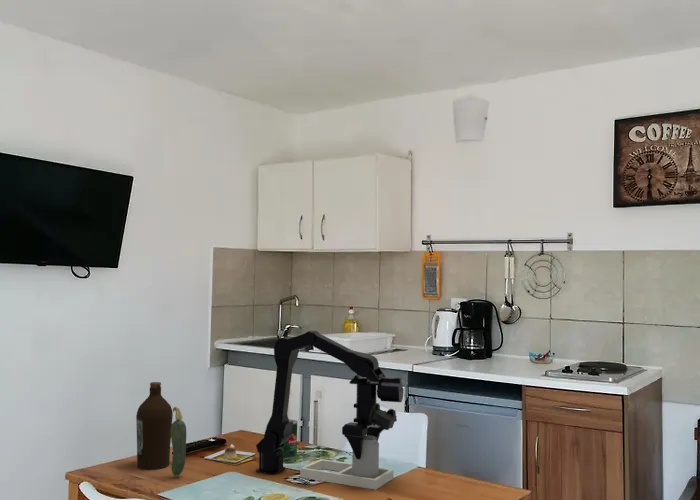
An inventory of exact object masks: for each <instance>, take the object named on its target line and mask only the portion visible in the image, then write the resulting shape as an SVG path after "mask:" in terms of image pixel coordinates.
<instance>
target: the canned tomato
mask: <svg viewBox="0 0 700 500" xmlns="http://www.w3.org/2000/svg"><path fill="white" fill-rule="evenodd" d="M288 419H289V418H288ZM289 421H293V426H292V433H293V434H292V435H290V438H289V440H288V441H286V442H285V444H284V447H283V448H280V449H281V450H282V455H283V456H284V458H283V460H290V459H295V458H297V457H298V420H296V419H289Z"/></svg>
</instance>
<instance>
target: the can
mask: <svg viewBox="0 0 700 500" xmlns="http://www.w3.org/2000/svg"><path fill="white" fill-rule="evenodd" d="M366 435H367V434H366ZM376 439H377V438H376V437H375V436H369V435H367V437H366V438H365V439H364V440H363V445H362V453H361V459H356V457H355V454H354V452H353V451H352V454H351V455H352V459H351V461H352V463H351V464H352V476H359V477H365V478H371V479H375V478H376V477H378V476H379V468H380V466H379V465H380V463H379V461H380V460H379V459H380V456H379V455H380V443H379V440H378V441H377V440H376Z"/></svg>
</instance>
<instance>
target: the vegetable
mask: <svg viewBox="0 0 700 500" xmlns="http://www.w3.org/2000/svg"><path fill="white" fill-rule="evenodd" d="M172 412H173V413H174V412H175V416H174V417H175V421H172V425H171V446H172V460H171V461H172V462H171V474H172V475H173V477H174V478H178V477H179V476H180V475H181V474H182V472H184V469H185V464H186V453H187V426H186V423H185V422H184V421H183V415H182V412H181V409H180V408H178V407H177V406H174V407H173V408H172Z"/></svg>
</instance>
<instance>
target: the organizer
mask: <svg viewBox="0 0 700 500" xmlns="http://www.w3.org/2000/svg"><path fill="white" fill-rule="evenodd" d="M322 469H323V470H322ZM325 470H329V471H325ZM332 471H335V472H332ZM299 477H300V478H304V479H308V478H309V479H310V480H316V481H322V482H327V483H332V484H333V483H334V484H338V485H345V486H351V487H357V488H363V489H368V490H370V489H371V490H377V489H379V488H381V487H383V486H384V485H386V484H387V483H389V482H391V481H392V480H394V469H391V468H384V467H379V476H378V477H376V478H375V479H371V478H365V477H359V476H352V463H351V462H350V463H349V462H343V461H337V460H331V459H324V458H320V459H318V460H316V461H313V462H311V463H310V464H307V465H304V466H302V467H300V474H299Z"/></svg>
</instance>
